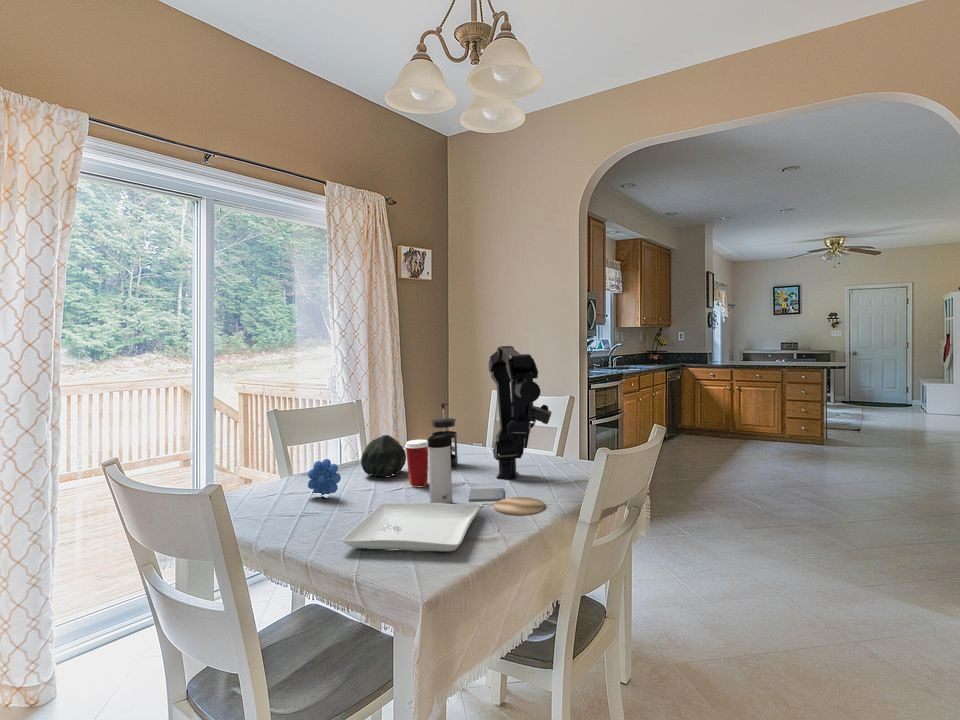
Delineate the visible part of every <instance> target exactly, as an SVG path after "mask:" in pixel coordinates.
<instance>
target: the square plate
mask: <svg viewBox="0 0 960 720" xmlns="http://www.w3.org/2000/svg"><path fill="white" fill-rule="evenodd" d="M480 510H481V505H479V504H461V503H460V504H459V503H452V504H443V503H430V502H382V503H381V504H379V505H378V506H377V507H376V508H375V509H373V510H372V511H371V512H370V513H369V514H368V515H366V516H365V517H364V518H363V519H362V520H361V521H360V522H358V523H357V524H356V525H355V526H354V527H353V528H352V529H351V530H349V532H348V533H347V534H346V535H344V537H342V538H341V540H340V542H341V543H344V544H345V545H347V546H348V547H351V548H355V549H368V550H369V549H370V550H373V549H398V550H416V551H415V552H421V551H439V552H454V551H455V550H456V549H458V547H459V546H460V545H461V543H462V542H463V540H464V538H465V536H466V533H467V531H468V529H469V527H470V525H471V524H472V522H473V521H474V519H475V518H476V517H477V515H478V514H479V512H480ZM387 523H389V524H388V525H387ZM389 525H390V527H389V528H390V529H391V530H390V529H389V528H388V527H387V526H389ZM391 525H392V526H391ZM396 525H397V526H398V527H400V528H401V527H402V528H401V529H402V530H401V529H400V528H399V529H400V530H401V531H399V532H398V531H397V530H396V529H395V530H396V531H397V532H398V533H399V534H398V533H397V532H396V531H394V529H393V527H394V526H396ZM397 526H396V527H397ZM383 527H385V529H386V530H385V529H384V528H383ZM386 527H387V528H388V529H387V528H386ZM396 527H395V528H396ZM382 528H383V529H384V530H385V531H386V532H385V531H384V530H383V529H382ZM381 529H382V530H383V531H382V530H381ZM380 530H381V531H380ZM374 536H375V537H374ZM371 538H373V539H371Z"/></svg>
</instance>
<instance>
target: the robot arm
mask: <svg viewBox="0 0 960 720" xmlns="http://www.w3.org/2000/svg"><path fill="white" fill-rule="evenodd" d="M514 347H515V346H511V345H500V346H499V347H497V350H496V351H495V352H494V353H492V354H491V355H490V357H489V360H488V372H489V373H490V376H491V377H490V378H491V379H492V381H493V382H494V383H495V385H496V394H497V408H498V409H497V410H498V423H499V429H498V432H497V434H496V435H495V442H494V444H493V449H492V454H493V455H492V456H493V458H494V459H495V461H498V474H497V476H496V479H510V480H511V479H517V478H518V476H519V473H520V472H518V471H517V459H522V456H523V455H524V449H527V448H528V443H529V439H530V438H529V437H530V433H531V429H532V428H534V426H536V422H537V421H538V422H540V423H542V424H543V425H544V424H545V425H548V424H549V422H550V420H551V416H552V414H553V412H552V411H551V410H550V409H549V405H546V404H542V405H540V407H539V406H535V405H534V402H535V401H537V400H538V399H539V397H540V396H541V388H540V386H539V384H538V383H537V382H535V381H534V379H538V378H539V370H538V367H537V364H536V361H535V359H534V358H533V357H532V355H531V354H529V353H520V352H519V351H517V350H516V349H515V348H514Z"/></svg>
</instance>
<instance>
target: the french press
mask: <svg viewBox="0 0 960 720" xmlns="http://www.w3.org/2000/svg"><path fill="white" fill-rule="evenodd" d="M448 405H449V402H439V403H437V406H441V409H442V416H443V417H442V418H441V417H440V418H434V419H431V423H432V427H433V428H438V429H439V428H440V429H442V428H443V430H441V431H435V432H432V433H431V436H433V435H438V434H448V433H451V436H450V453H451V469H453V468H452V467H455V468H457V467H459V461H458V459H459V458H458V443H457V442H458V441H457V440H458V438H457V431H453V430H445V429H446V428H452V427H455V426H456V422H457V419H456V418H455V417H445V411H444V409H445V406H448ZM453 439H454V440H453ZM452 440H453V441H454V446H453V444H452ZM453 452H454V454H453ZM456 466H457V467H456Z"/></svg>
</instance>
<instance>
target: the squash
mask: <svg viewBox="0 0 960 720" xmlns="http://www.w3.org/2000/svg"><path fill="white" fill-rule="evenodd" d="M403 447H404V446H402V445H401V443H399V441H398V440H396V439H395V438H394V437H392V436H390V435H388V434H383V435H382V436H378V437H377V438H375V439H373V440H371V441H370V442H369V443H368V444H367V445H366V447H365V449H364V450H363V452H362V453H361V458H360V462H361V467H362V469H363V471H364V473H365V474H366V475H369V474H372V475H371V476H374V475H376V476H378V475H379V476H378V477H382V476H383V475H384V476H390V477H392V476H391V475H392V474H397V475H398V474H399V473H400V472H401V471H402V470H403V469H404V466H405V464H406V461H407V453H406V451H405V449H404V448H403ZM399 471H400V472H399ZM381 475H382V476H381ZM384 476H383V477H384Z"/></svg>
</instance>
